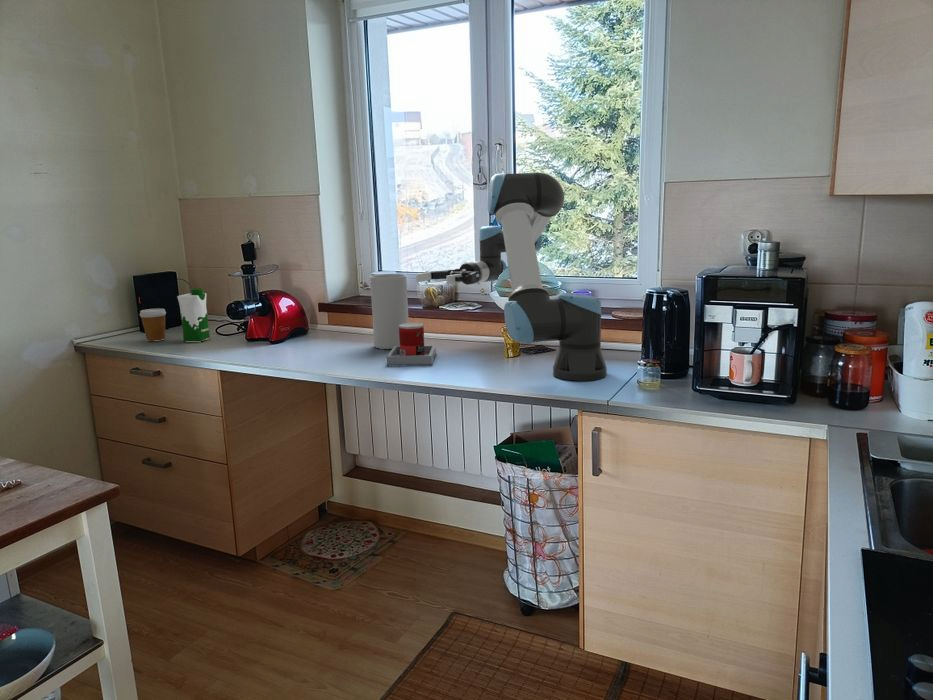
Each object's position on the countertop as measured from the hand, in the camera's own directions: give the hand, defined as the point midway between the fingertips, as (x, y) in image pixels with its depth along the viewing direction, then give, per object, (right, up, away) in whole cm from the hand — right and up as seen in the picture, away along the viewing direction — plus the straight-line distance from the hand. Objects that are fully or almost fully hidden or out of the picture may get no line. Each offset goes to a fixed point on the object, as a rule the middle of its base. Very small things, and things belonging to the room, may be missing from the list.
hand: (431, 279), depth 225 cm
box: (-6, -26, -2) cm, 27 cm away
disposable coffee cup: (-109, -20, +43) cm, 119 cm away
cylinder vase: (-15, -22, +20) cm, 33 cm away
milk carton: (-92, -20, +41) cm, 103 cm away
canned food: (-6, -26, -2) cm, 27 cm away
